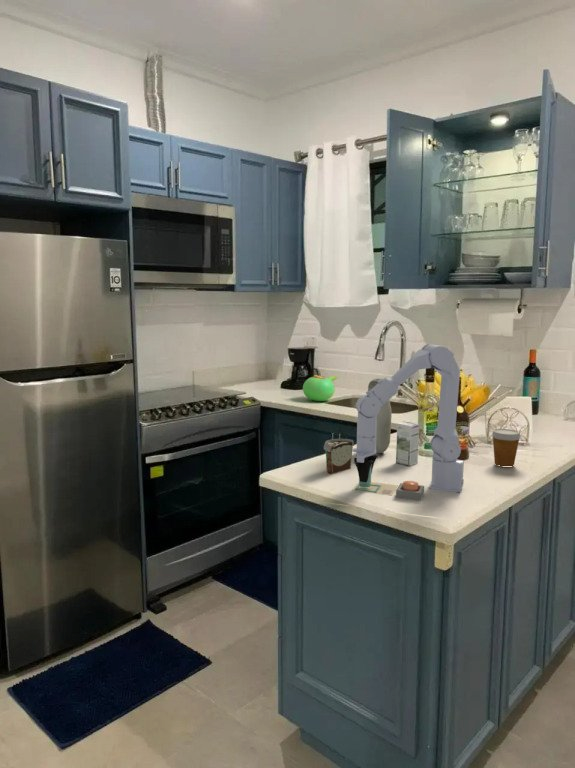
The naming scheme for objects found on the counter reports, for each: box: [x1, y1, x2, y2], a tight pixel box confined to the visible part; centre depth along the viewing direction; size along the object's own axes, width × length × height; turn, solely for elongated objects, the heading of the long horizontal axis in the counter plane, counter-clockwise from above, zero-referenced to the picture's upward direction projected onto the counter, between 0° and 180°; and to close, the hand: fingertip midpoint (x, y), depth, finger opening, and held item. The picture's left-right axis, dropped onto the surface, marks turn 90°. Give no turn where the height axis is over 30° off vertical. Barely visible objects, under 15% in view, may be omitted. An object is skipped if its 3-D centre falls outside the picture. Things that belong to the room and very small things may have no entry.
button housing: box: [395, 482, 425, 502], centre depth 174 cm, size 7×7×3 cm
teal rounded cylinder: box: [358, 465, 372, 487], centre depth 179 cm, size 4×4×8 cm
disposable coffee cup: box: [491, 428, 522, 467], centre depth 207 cm, size 10×10×12 cm
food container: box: [323, 438, 355, 475], centre depth 199 cm, size 12×6×10 cm, turn 134°
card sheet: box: [352, 481, 399, 496], centre depth 181 cm, size 12×10×1 cm
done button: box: [402, 480, 419, 492], centre depth 174 cm, size 4×4×2 cm
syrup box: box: [395, 420, 420, 467], centre depth 208 cm, size 6×6×14 cm
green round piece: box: [302, 374, 339, 402], centre depth 330 cm, size 18×17×15 cm
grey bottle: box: [367, 378, 393, 455], centre depth 220 cm, size 10×10×28 cm
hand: (365, 479), depth 180 cm, fingers closed on teal rounded cylinder, 4 cm apart
